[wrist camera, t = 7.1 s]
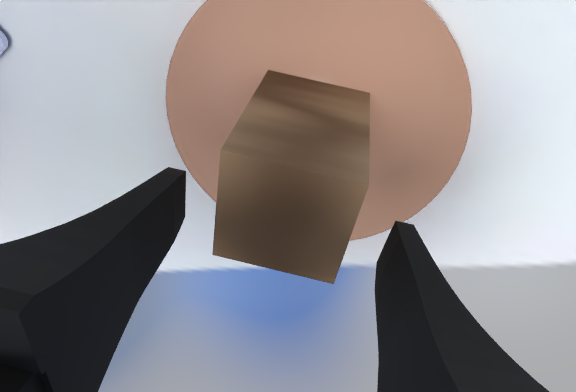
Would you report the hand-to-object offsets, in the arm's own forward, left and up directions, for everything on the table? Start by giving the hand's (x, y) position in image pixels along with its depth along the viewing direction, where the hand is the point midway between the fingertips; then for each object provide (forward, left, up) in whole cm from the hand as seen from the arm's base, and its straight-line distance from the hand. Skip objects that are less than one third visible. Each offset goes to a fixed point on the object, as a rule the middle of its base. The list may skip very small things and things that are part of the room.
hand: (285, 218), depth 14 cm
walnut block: (0, 0, -7) cm, 7 cm away
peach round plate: (0, 0, -7) cm, 7 cm away
